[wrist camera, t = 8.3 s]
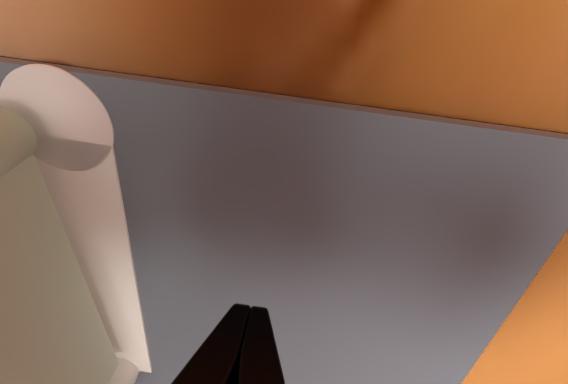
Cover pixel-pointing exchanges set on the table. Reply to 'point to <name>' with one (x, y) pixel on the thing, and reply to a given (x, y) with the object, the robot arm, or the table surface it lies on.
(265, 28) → the table surface
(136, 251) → the card
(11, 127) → the swinging fence panel
